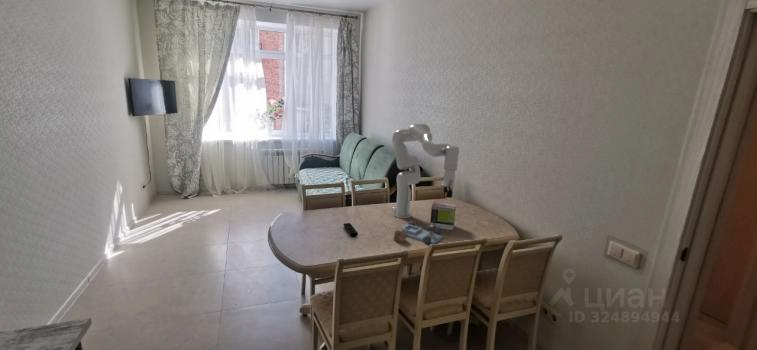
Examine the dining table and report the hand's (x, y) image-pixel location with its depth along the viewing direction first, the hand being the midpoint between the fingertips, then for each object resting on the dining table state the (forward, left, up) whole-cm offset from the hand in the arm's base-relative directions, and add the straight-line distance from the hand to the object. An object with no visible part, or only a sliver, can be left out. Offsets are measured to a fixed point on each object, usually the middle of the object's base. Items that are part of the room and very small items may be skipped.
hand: (447, 194), depth 212 cm
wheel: (-4, -11, -22) cm, 25 cm away
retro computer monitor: (-7, +13, -26) cm, 30 cm away
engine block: (-17, -24, -26) cm, 40 cm away
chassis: (-12, -10, -26) cm, 30 cm away
